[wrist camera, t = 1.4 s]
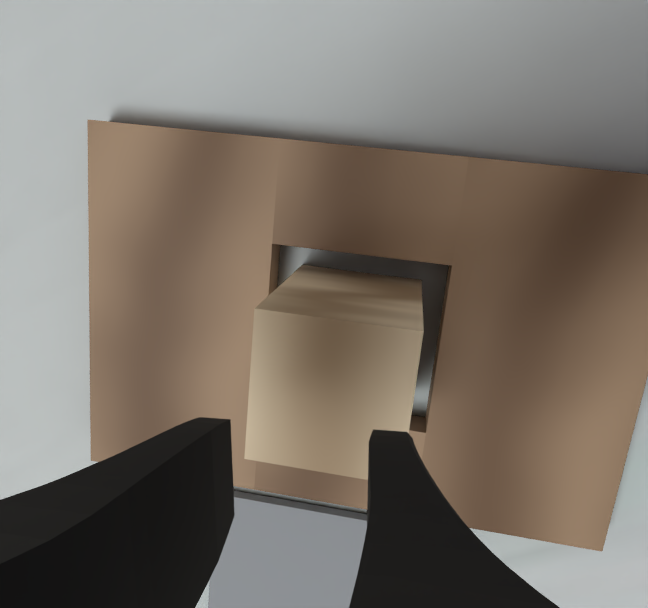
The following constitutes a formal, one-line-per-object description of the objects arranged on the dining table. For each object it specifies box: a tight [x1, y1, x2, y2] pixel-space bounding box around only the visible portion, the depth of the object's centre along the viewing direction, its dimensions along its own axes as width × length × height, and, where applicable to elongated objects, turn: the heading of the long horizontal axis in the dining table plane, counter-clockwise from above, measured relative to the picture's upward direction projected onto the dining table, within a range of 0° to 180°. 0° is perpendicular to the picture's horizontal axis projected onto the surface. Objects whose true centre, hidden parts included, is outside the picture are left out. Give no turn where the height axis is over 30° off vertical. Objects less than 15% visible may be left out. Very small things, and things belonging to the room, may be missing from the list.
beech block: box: [244, 265, 424, 480], centre depth 17 cm, size 4×4×6 cm
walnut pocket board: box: [88, 120, 648, 551], centre depth 19 cm, size 18×12×1 cm, turn 85°
